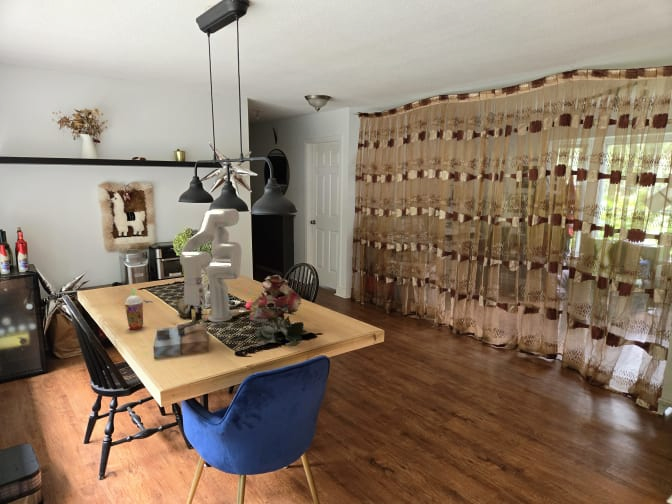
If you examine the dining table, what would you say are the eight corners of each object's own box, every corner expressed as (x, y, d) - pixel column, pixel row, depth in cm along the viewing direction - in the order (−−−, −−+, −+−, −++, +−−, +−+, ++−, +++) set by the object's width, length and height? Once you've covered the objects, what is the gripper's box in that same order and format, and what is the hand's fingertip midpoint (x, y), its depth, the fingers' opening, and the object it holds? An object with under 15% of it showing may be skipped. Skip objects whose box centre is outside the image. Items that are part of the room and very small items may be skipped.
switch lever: (180, 329, 188) (179, 314, 187) (175, 328, 190) (174, 313, 189) (201, 323, 197) (200, 308, 196) (197, 321, 199) (196, 307, 198)
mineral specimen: (203, 317, 231) (202, 299, 230) (179, 320, 226) (177, 303, 224) (199, 310, 244) (198, 293, 243) (175, 313, 238) (174, 296, 237)
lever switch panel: (206, 333, 207) (205, 315, 205) (208, 351, 184) (207, 332, 183) (158, 338, 200) (156, 321, 198) (154, 358, 177) (152, 338, 176)
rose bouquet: (304, 324, 217) (302, 268, 212) (301, 346, 189) (300, 281, 184) (254, 325, 216) (252, 269, 212) (244, 347, 188) (241, 282, 183)
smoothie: (125, 331, 210) (121, 292, 207) (129, 325, 218) (125, 288, 215) (143, 329, 213) (140, 291, 209) (146, 324, 220) (143, 287, 217)
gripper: (211, 281, 192) (214, 319, 195) (187, 277, 201) (190, 314, 204) (198, 284, 186) (201, 324, 189) (174, 280, 195) (177, 318, 198)
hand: (195, 318), depth 196 cm, fingers closed on switch lever, 3 cm apart
